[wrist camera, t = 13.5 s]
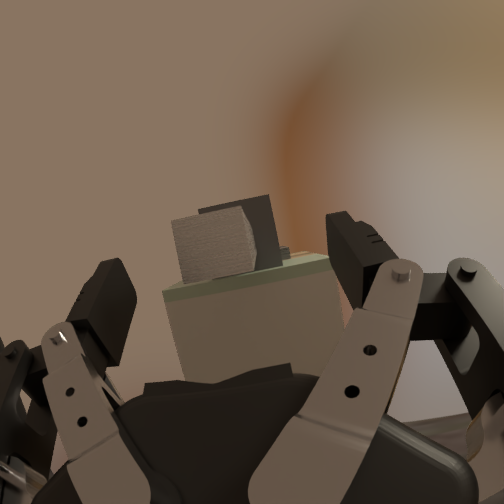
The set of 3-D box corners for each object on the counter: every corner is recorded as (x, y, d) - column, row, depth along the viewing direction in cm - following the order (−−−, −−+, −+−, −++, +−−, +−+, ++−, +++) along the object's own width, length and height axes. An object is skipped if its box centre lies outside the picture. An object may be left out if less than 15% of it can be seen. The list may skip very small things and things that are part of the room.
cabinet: (358, 516, 25) (330, 241, 24) (244, 536, 26) (158, 276, 25) (334, 448, 41) (302, 241, 40) (248, 464, 42) (196, 263, 41)
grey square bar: (323, 305, 9) (284, 118, 9) (140, 338, 10) (107, 161, 9) (277, 260, 34) (266, 205, 34) (222, 270, 34) (212, 216, 34)
